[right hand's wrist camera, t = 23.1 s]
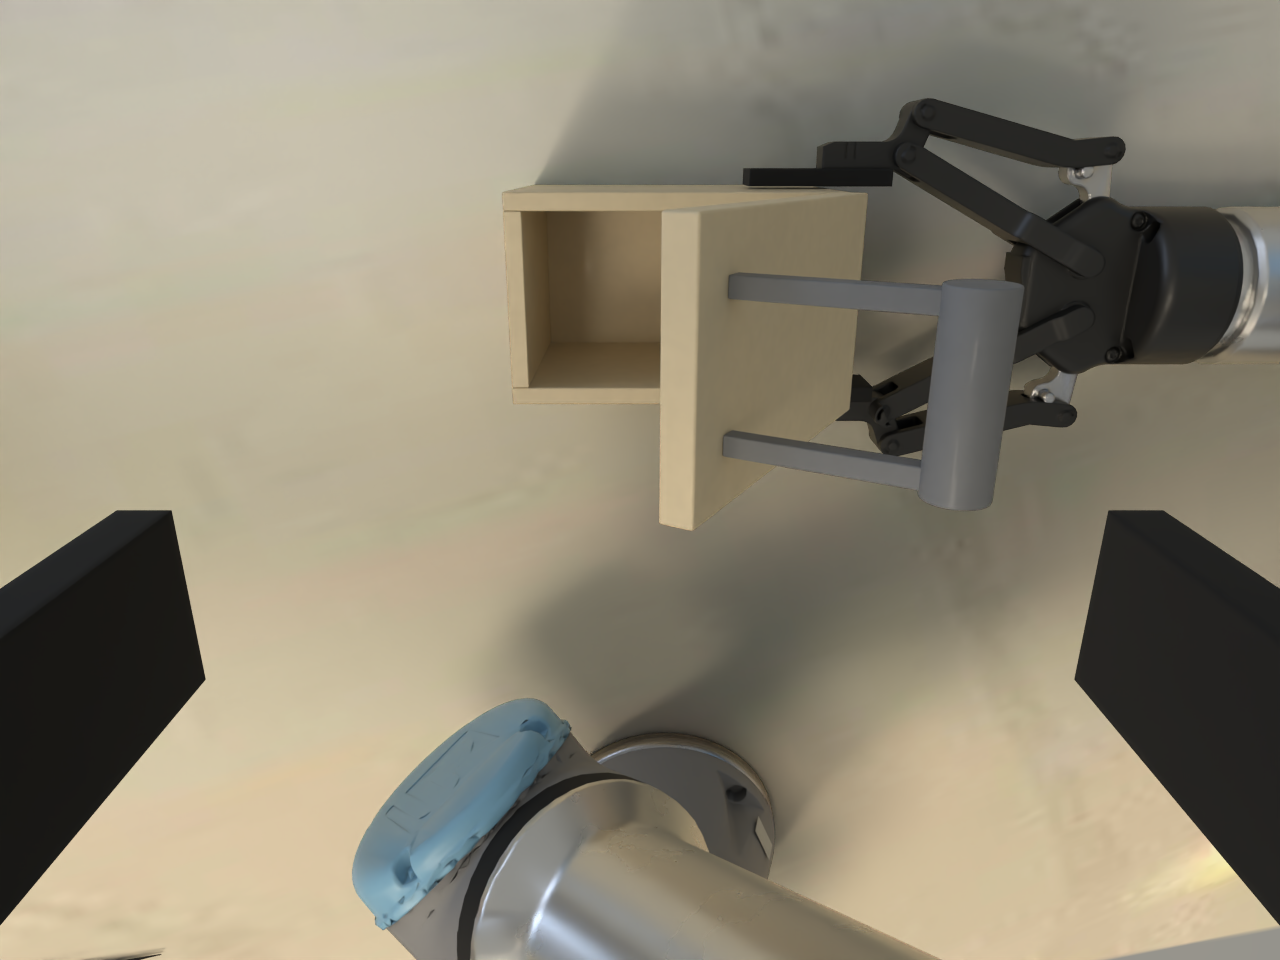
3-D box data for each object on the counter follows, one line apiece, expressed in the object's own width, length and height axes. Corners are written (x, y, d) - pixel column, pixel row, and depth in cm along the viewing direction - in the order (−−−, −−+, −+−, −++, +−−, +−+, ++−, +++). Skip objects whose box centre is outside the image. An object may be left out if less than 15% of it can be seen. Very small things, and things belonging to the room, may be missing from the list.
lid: (657, 524, 26) (967, 594, 22) (660, 209, 23) (1022, 220, 19) (823, 406, 39) (1041, 436, 35) (840, 192, 36) (1081, 196, 32)
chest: (539, 353, 50) (512, 404, 39) (532, 184, 47) (501, 192, 36) (793, 353, 50) (833, 404, 39) (803, 184, 47) (850, 191, 36)
